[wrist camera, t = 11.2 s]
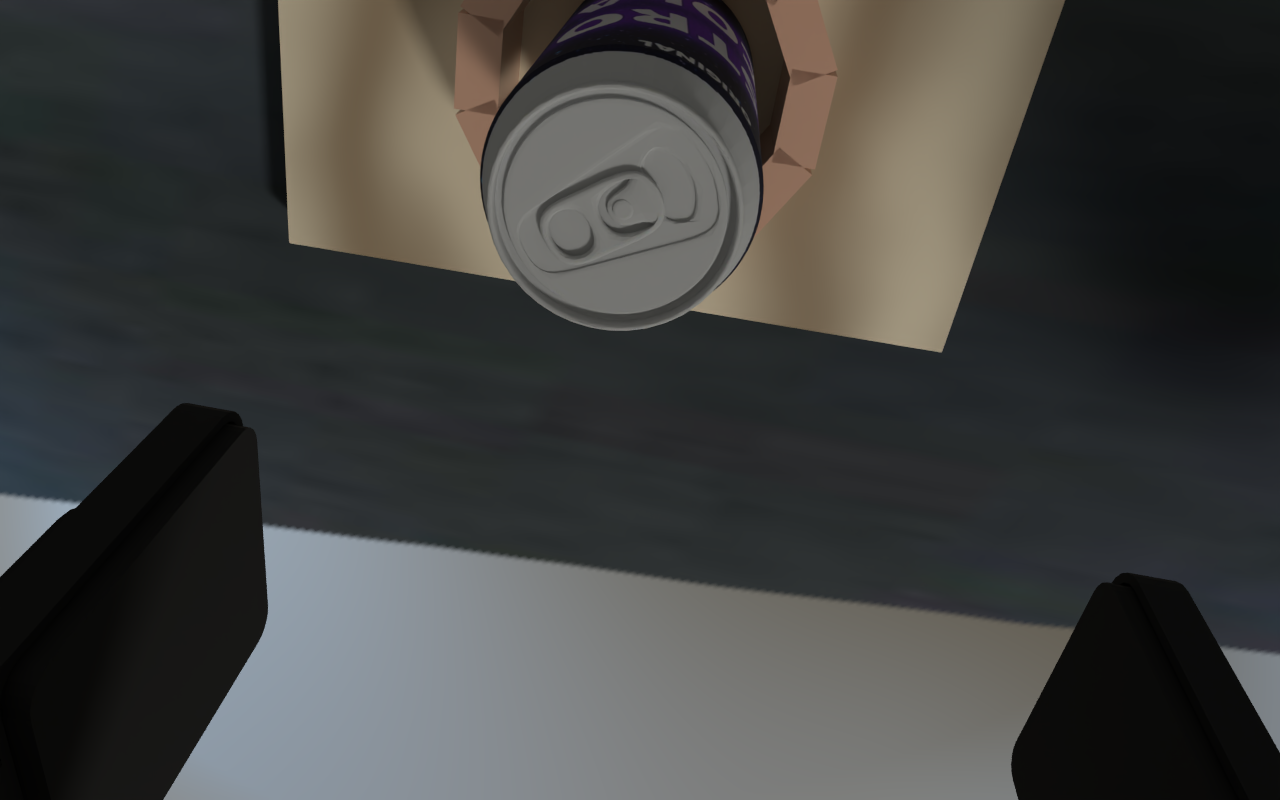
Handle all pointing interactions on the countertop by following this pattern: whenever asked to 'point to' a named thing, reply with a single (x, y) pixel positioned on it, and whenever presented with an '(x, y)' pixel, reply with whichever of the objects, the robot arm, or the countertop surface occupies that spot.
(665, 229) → the beverage can
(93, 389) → the countertop surface
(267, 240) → the countertop surface
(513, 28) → the segmented ring
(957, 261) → the base board
